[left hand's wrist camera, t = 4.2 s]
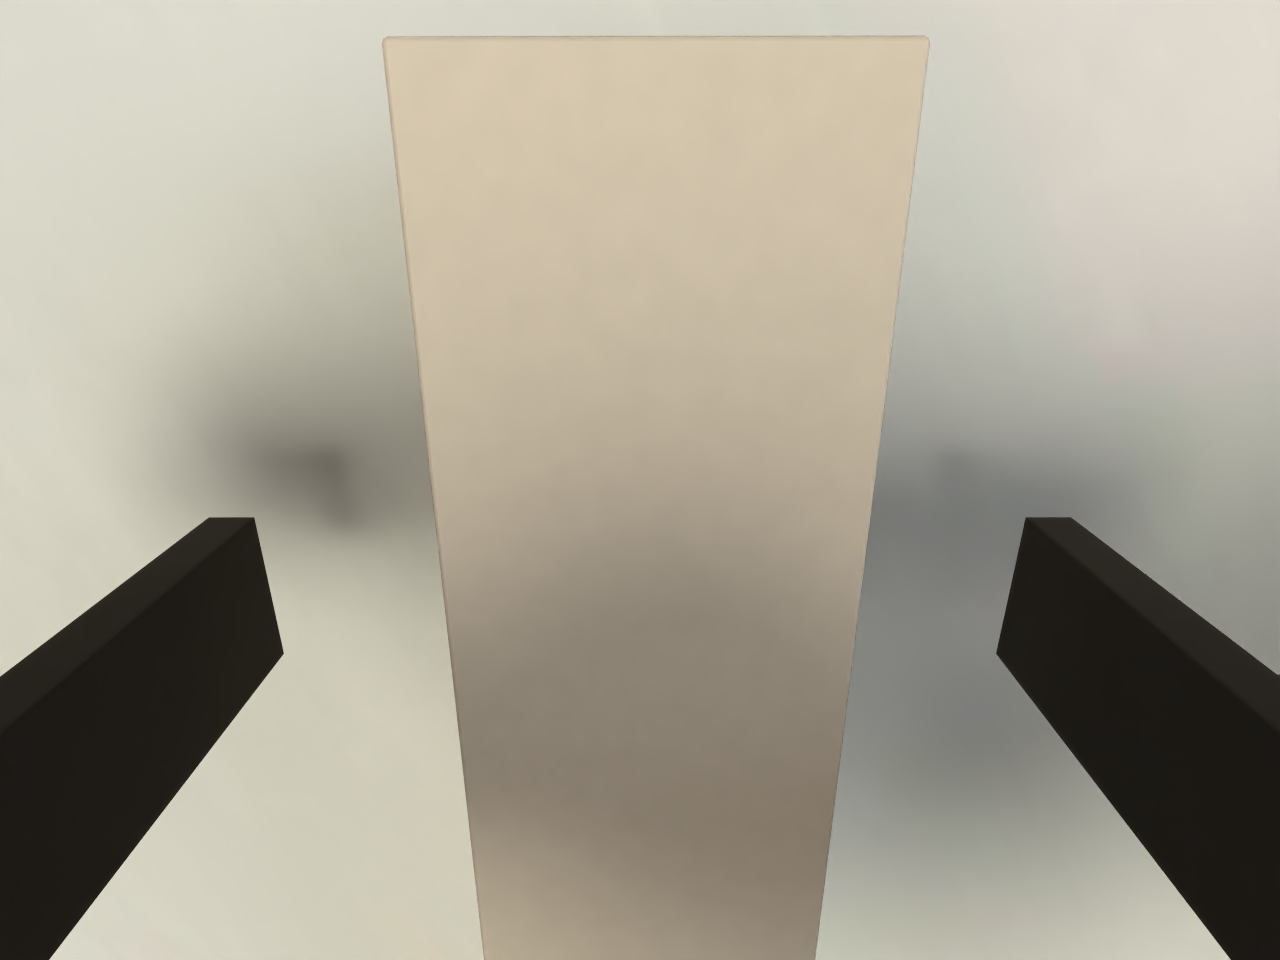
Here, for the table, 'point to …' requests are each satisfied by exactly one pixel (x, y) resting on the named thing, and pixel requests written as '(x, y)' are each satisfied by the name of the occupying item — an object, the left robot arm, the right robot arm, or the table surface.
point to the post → (653, 459)
